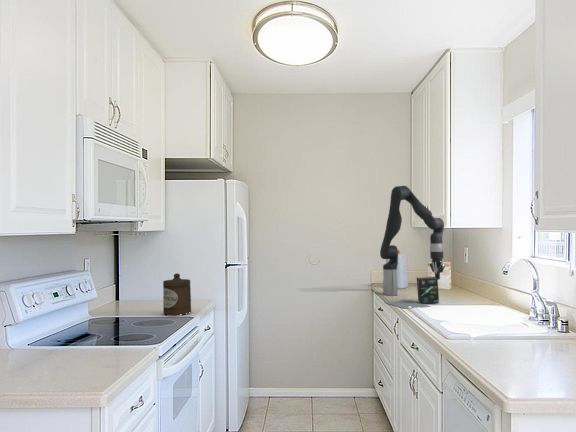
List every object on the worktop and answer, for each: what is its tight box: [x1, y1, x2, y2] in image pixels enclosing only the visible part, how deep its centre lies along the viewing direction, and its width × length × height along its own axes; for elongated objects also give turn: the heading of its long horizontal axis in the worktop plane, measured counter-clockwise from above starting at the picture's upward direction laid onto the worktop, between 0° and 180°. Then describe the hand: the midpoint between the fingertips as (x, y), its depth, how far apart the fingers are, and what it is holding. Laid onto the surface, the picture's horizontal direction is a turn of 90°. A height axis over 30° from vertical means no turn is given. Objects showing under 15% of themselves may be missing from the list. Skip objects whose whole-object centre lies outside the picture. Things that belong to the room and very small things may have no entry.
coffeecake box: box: [427, 261, 452, 291], centre depth 339 cm, size 15×7×20 cm, turn 58°
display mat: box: [383, 300, 432, 310], centre depth 273 cm, size 22×18×1 cm
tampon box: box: [416, 276, 440, 304], centre depth 278 cm, size 11×9×15 cm
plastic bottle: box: [385, 249, 409, 290], centre depth 347 cm, size 15×15×28 cm
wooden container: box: [162, 273, 192, 316], centre depth 255 cm, size 15×15×22 cm
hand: (437, 279), depth 280 cm, fingers closed
